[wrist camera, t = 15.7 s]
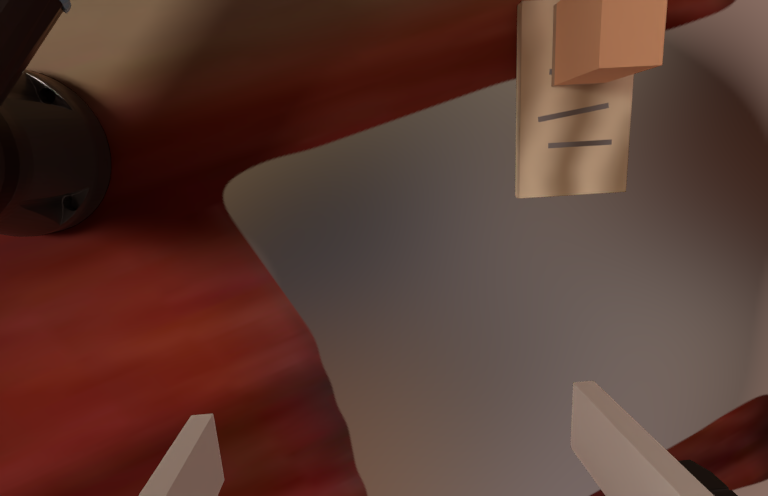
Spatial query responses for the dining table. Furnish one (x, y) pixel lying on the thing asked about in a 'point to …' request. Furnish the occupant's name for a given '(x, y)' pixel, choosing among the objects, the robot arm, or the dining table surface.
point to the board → (565, 120)
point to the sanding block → (606, 39)
